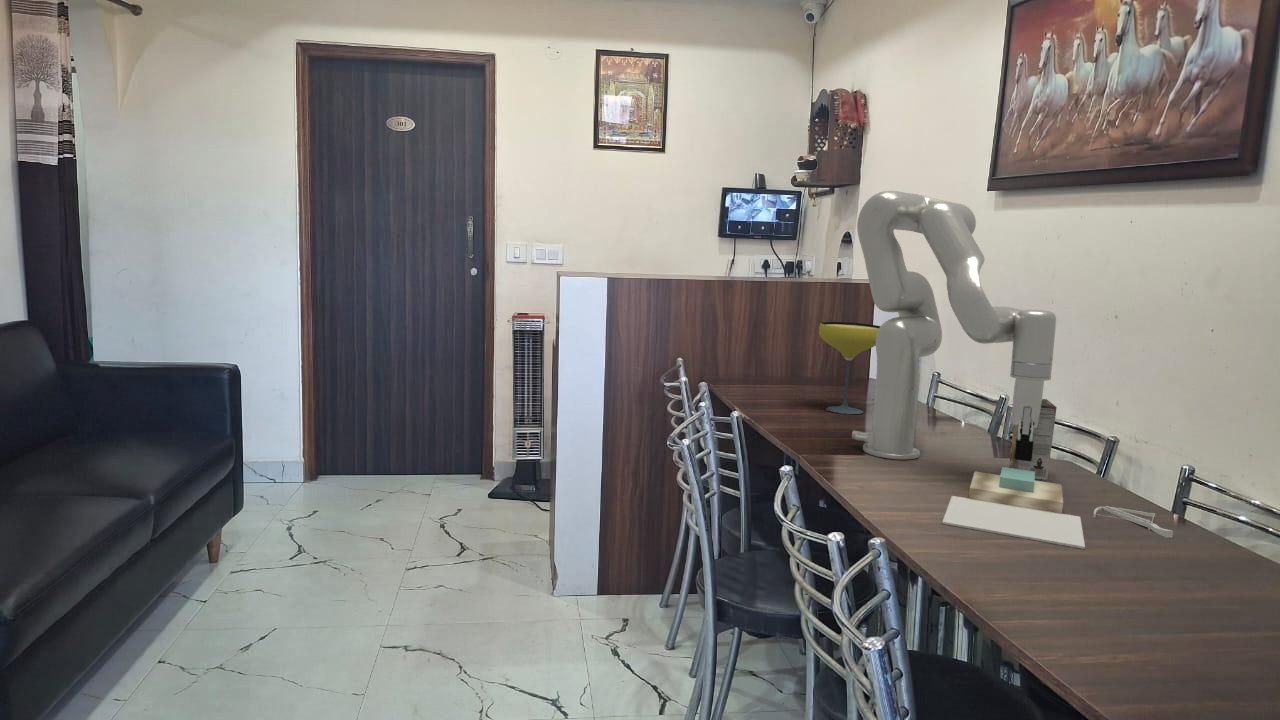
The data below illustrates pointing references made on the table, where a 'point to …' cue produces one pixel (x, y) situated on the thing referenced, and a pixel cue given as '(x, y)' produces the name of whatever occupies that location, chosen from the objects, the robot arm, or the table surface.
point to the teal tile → (1017, 479)
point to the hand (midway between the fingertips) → (1023, 459)
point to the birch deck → (1017, 493)
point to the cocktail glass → (848, 347)
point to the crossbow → (1136, 519)
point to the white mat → (1015, 521)
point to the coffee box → (1037, 443)
